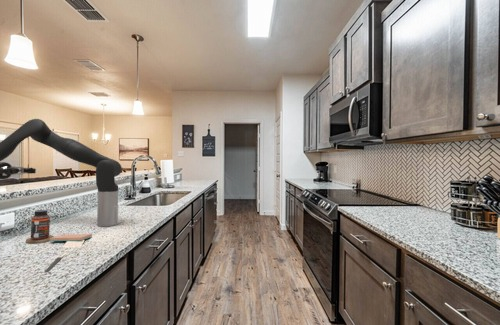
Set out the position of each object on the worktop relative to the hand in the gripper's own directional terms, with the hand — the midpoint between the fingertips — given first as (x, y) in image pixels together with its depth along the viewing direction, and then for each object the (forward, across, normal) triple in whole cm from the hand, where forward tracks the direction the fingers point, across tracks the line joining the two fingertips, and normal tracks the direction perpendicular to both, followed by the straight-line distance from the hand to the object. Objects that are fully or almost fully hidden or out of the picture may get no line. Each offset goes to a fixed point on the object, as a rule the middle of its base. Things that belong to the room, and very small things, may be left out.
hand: (24, 171), depth 112 cm
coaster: (+12, -3, +28) cm, 31 cm away
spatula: (+36, -13, +29) cm, 48 cm away
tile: (+18, 0, +27) cm, 32 cm away
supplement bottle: (+12, -3, +27) cm, 30 cm away
